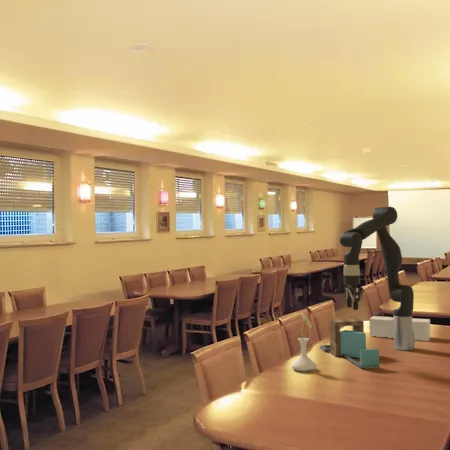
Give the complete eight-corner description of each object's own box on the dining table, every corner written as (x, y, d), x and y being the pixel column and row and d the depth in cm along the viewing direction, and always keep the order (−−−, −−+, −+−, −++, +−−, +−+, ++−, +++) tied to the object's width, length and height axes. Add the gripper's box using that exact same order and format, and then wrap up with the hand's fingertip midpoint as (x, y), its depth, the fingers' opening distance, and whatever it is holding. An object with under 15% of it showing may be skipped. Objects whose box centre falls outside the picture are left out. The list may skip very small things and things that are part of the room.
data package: (366, 357, 247) (365, 332, 248) (362, 358, 244) (362, 333, 244) (343, 353, 254) (342, 329, 255) (339, 355, 251) (339, 330, 251)
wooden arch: (357, 351, 260) (357, 318, 260) (364, 355, 252) (363, 321, 252) (330, 353, 258) (329, 319, 258) (335, 357, 250) (335, 322, 250)
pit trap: (352, 347, 271) (352, 343, 271) (358, 350, 263) (358, 346, 263) (320, 348, 268) (320, 345, 268) (325, 352, 260) (325, 348, 260)
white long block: (369, 337, 297) (369, 318, 297) (373, 334, 306) (373, 316, 307) (428, 341, 282) (428, 322, 283) (430, 338, 292) (430, 319, 292)
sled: (353, 352, 257) (353, 336, 257) (379, 367, 227) (378, 349, 228) (338, 353, 256) (337, 337, 256) (361, 368, 226) (361, 350, 226)
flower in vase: (316, 373, 220) (315, 315, 221) (290, 372, 223) (289, 315, 223) (317, 366, 233) (316, 311, 234) (292, 365, 236) (291, 311, 236)
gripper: (365, 275, 235) (365, 310, 234) (354, 273, 249) (354, 306, 249) (349, 275, 234) (350, 311, 234) (339, 273, 248) (339, 306, 248)
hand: (352, 308), depth 241 cm, fingers open, 8 cm apart
